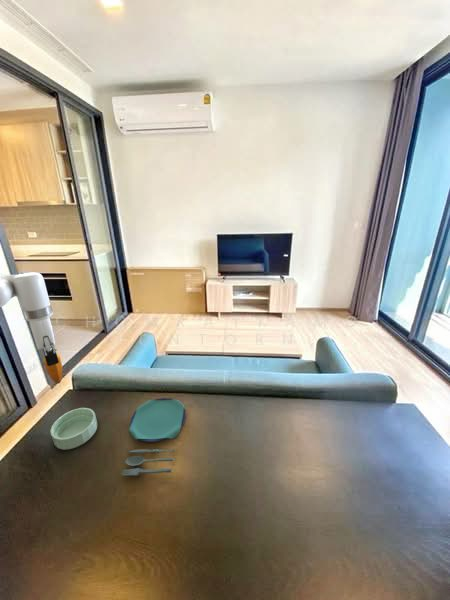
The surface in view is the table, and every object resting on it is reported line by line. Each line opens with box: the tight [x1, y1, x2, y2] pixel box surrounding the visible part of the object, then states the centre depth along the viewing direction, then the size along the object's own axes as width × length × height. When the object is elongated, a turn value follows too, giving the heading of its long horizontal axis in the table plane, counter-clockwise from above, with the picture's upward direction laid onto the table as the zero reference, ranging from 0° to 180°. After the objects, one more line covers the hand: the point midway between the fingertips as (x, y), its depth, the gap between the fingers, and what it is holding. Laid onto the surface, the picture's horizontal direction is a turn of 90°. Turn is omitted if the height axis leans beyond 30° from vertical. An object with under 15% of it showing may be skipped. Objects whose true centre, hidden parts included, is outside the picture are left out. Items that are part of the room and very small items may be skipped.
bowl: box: [49, 407, 98, 451], centre depth 86 cm, size 13×13×5 cm
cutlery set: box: [121, 397, 187, 477], centre depth 86 cm, size 20×30×2 cm, turn 1°
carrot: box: [43, 344, 63, 385], centre depth 86 cm, size 5×5×15 cm
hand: (52, 360), depth 86 cm, fingers closed on carrot, 4 cm apart
